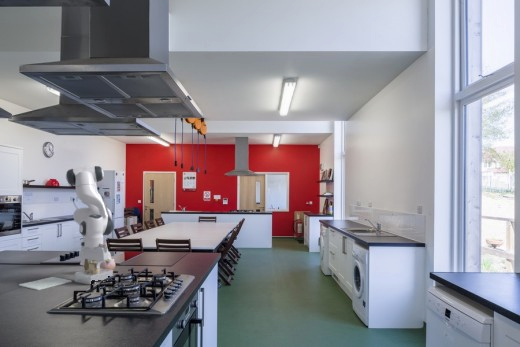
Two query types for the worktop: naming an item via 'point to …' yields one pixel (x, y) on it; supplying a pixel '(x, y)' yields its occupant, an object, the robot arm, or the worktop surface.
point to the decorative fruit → (107, 264)
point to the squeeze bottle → (87, 264)
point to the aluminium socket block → (92, 275)
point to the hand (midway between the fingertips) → (94, 267)
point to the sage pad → (45, 283)
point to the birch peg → (93, 267)
